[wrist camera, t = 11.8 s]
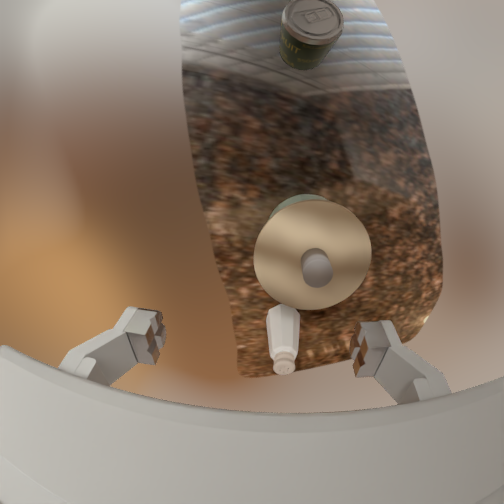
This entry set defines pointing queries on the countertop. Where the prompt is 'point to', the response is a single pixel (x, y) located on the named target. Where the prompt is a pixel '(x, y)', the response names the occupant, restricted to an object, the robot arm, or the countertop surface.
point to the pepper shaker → (283, 337)
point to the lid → (312, 254)
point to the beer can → (309, 32)
